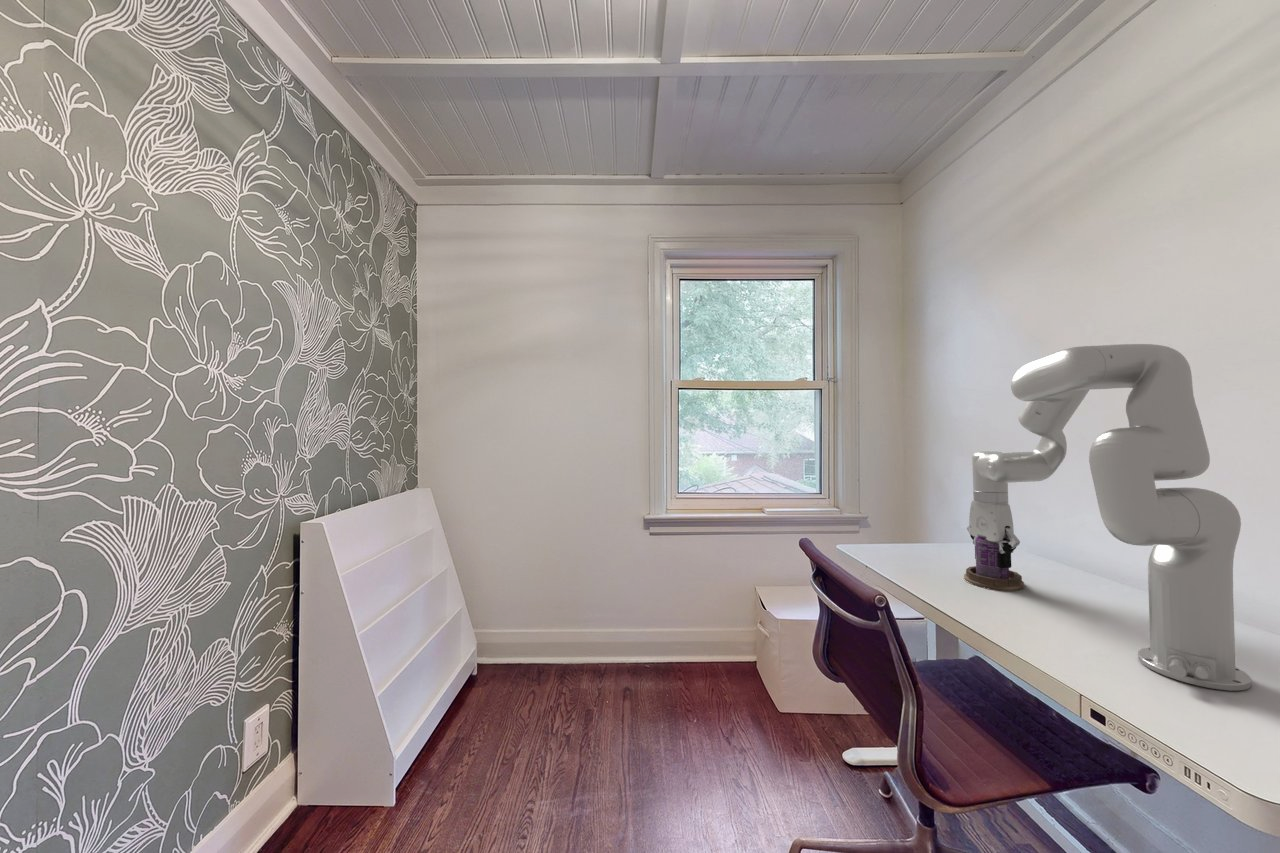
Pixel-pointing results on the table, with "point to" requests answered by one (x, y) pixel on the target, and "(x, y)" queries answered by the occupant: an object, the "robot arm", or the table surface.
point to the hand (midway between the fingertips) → (992, 562)
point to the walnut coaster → (995, 580)
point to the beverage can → (988, 559)
